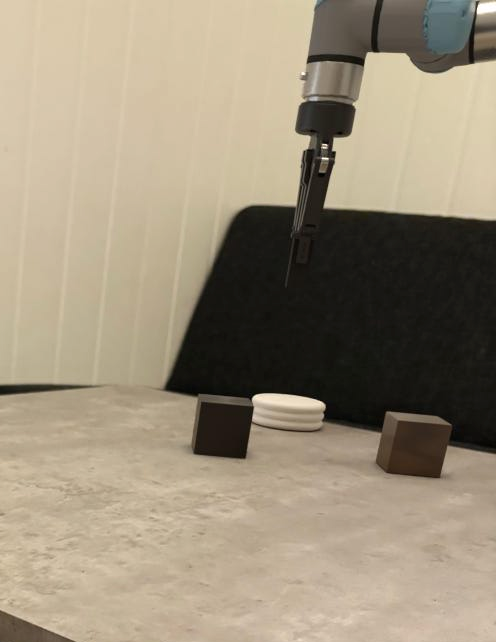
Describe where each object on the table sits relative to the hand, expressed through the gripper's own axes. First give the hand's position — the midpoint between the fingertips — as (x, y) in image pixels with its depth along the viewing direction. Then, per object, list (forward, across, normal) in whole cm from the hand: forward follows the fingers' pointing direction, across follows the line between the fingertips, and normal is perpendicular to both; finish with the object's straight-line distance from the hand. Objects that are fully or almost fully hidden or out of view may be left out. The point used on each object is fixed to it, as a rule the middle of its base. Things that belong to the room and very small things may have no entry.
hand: (295, 287), depth 144 cm
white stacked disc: (+18, +11, 0) cm, 21 cm away
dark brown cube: (+18, +35, -11) cm, 41 cm away
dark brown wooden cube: (+17, +35, +11) cm, 41 cm away
